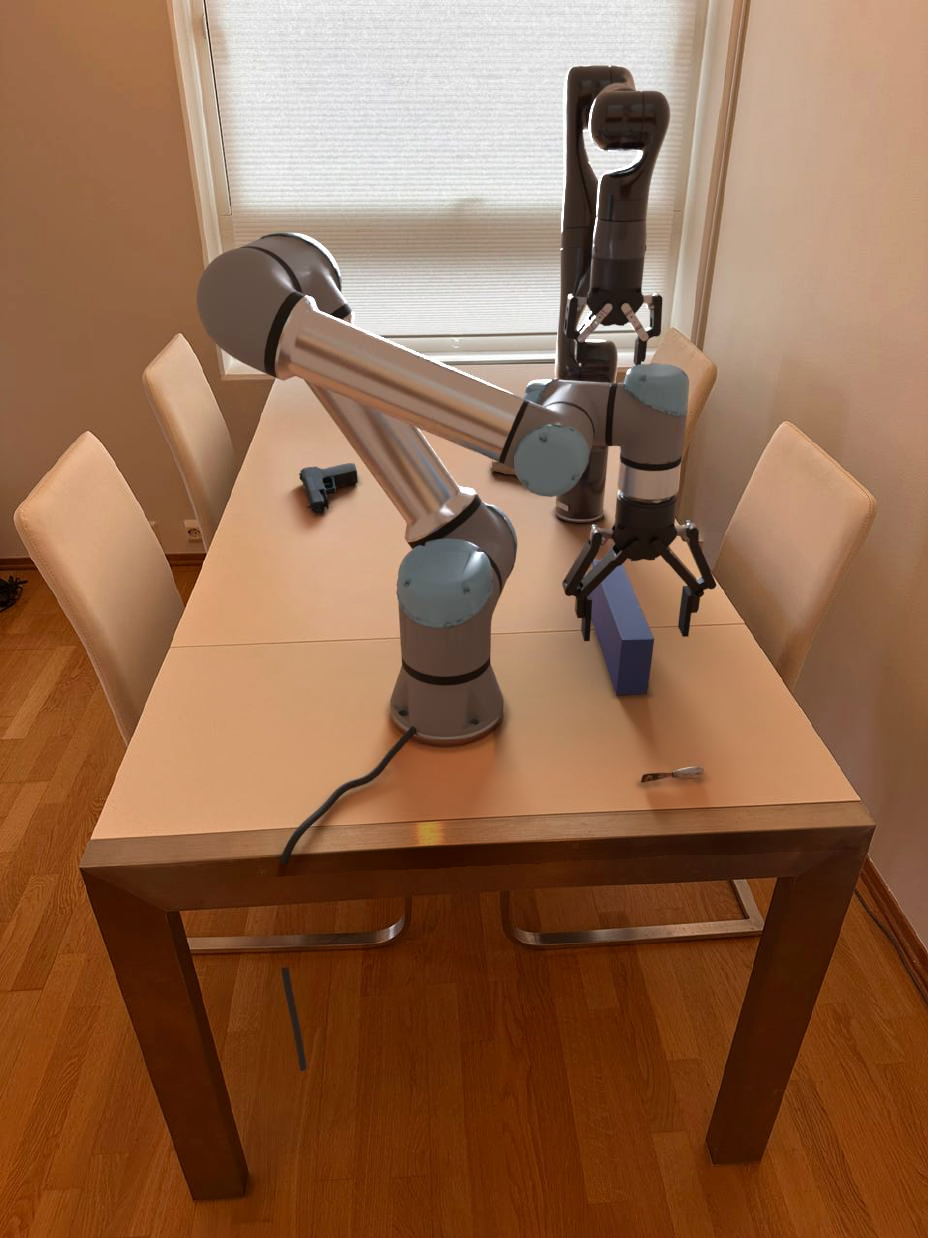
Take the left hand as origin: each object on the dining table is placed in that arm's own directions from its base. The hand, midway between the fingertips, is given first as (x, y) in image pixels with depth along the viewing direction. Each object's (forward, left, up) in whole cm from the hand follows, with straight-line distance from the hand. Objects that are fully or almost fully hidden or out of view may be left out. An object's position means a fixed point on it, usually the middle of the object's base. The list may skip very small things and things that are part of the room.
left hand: (634, 634), depth 123 cm
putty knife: (-20, -6, -8) cm, 23 cm away
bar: (+7, +2, -8) cm, 11 cm away
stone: (+72, +27, -8) cm, 78 cm away
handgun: (+52, +63, -8) cm, 82 cm away
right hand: (+32, +8, +28) cm, 43 cm away
